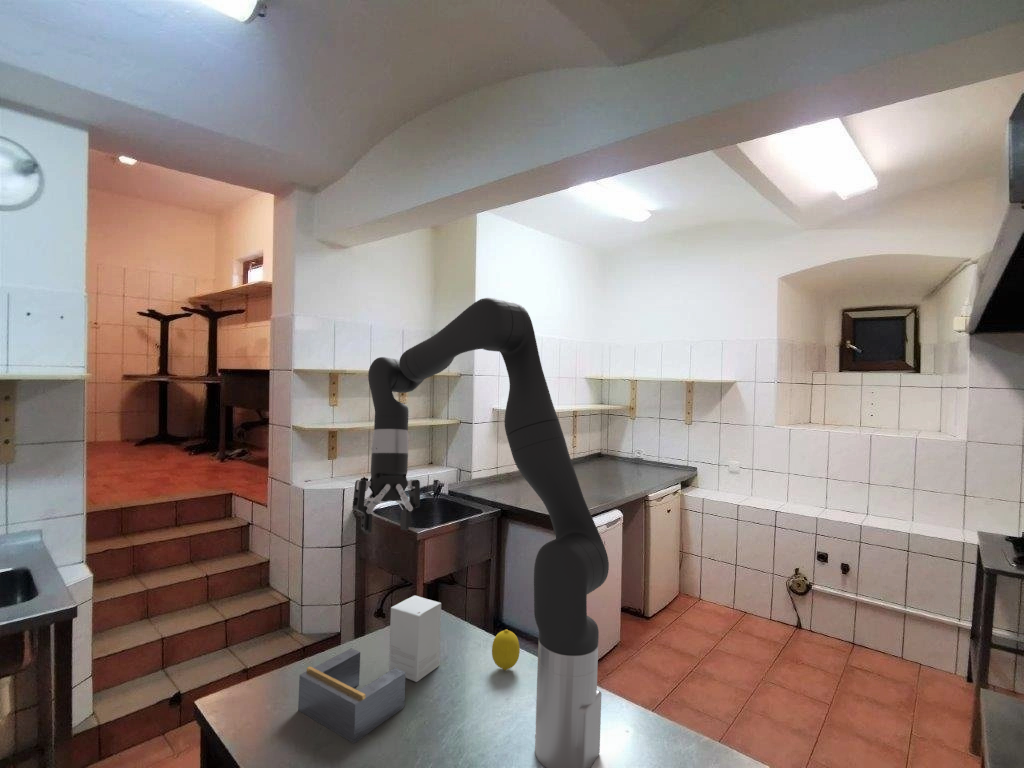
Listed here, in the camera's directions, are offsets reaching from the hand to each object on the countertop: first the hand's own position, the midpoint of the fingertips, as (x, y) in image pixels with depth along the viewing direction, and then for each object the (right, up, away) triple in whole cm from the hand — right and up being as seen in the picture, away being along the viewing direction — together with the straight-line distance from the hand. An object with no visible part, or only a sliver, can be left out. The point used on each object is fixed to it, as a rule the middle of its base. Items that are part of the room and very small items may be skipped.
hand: (386, 531), depth 103 cm
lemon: (+24, -27, -3) cm, 37 cm away
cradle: (-1, -26, -16) cm, 30 cm away
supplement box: (+6, -26, -3) cm, 27 cm away
